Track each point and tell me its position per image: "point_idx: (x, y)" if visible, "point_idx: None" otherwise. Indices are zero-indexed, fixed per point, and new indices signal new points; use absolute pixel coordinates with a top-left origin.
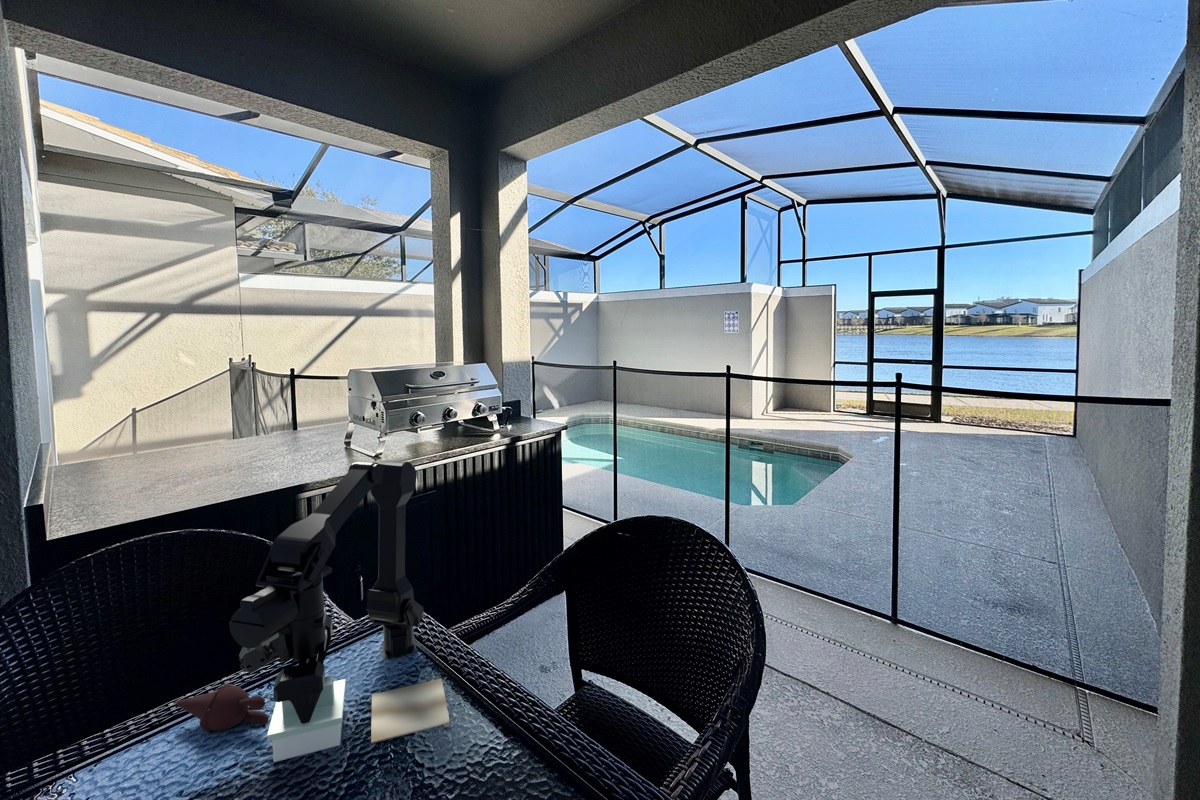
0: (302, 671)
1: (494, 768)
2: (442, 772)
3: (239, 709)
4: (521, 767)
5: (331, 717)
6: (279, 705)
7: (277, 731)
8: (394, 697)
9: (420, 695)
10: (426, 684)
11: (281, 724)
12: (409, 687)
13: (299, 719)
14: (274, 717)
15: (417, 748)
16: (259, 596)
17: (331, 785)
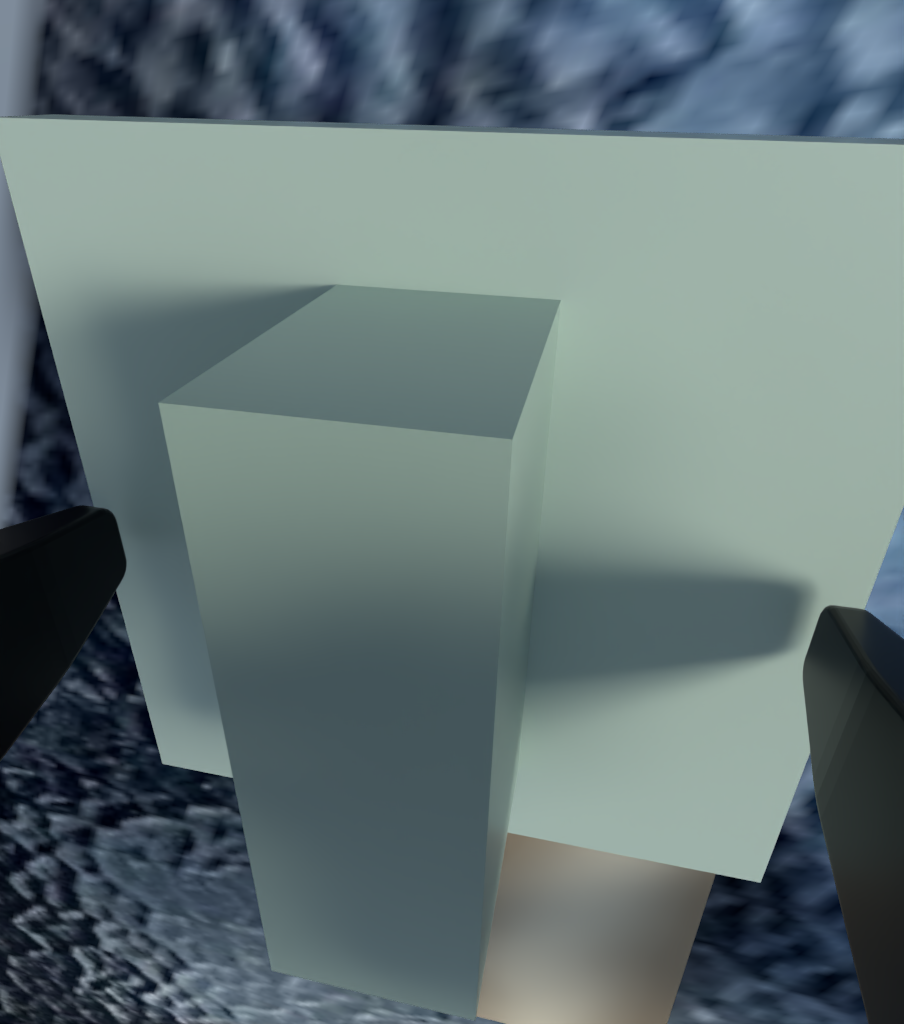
0: None
1: (59, 956)
2: (60, 856)
3: None
4: (55, 996)
5: (182, 707)
6: (620, 209)
7: (55, 246)
8: (616, 884)
9: (554, 965)
10: (643, 1008)
11: (170, 282)
12: (668, 956)
13: (12, 526)
14: (333, 169)
15: (205, 835)
16: None
17: (34, 506)
